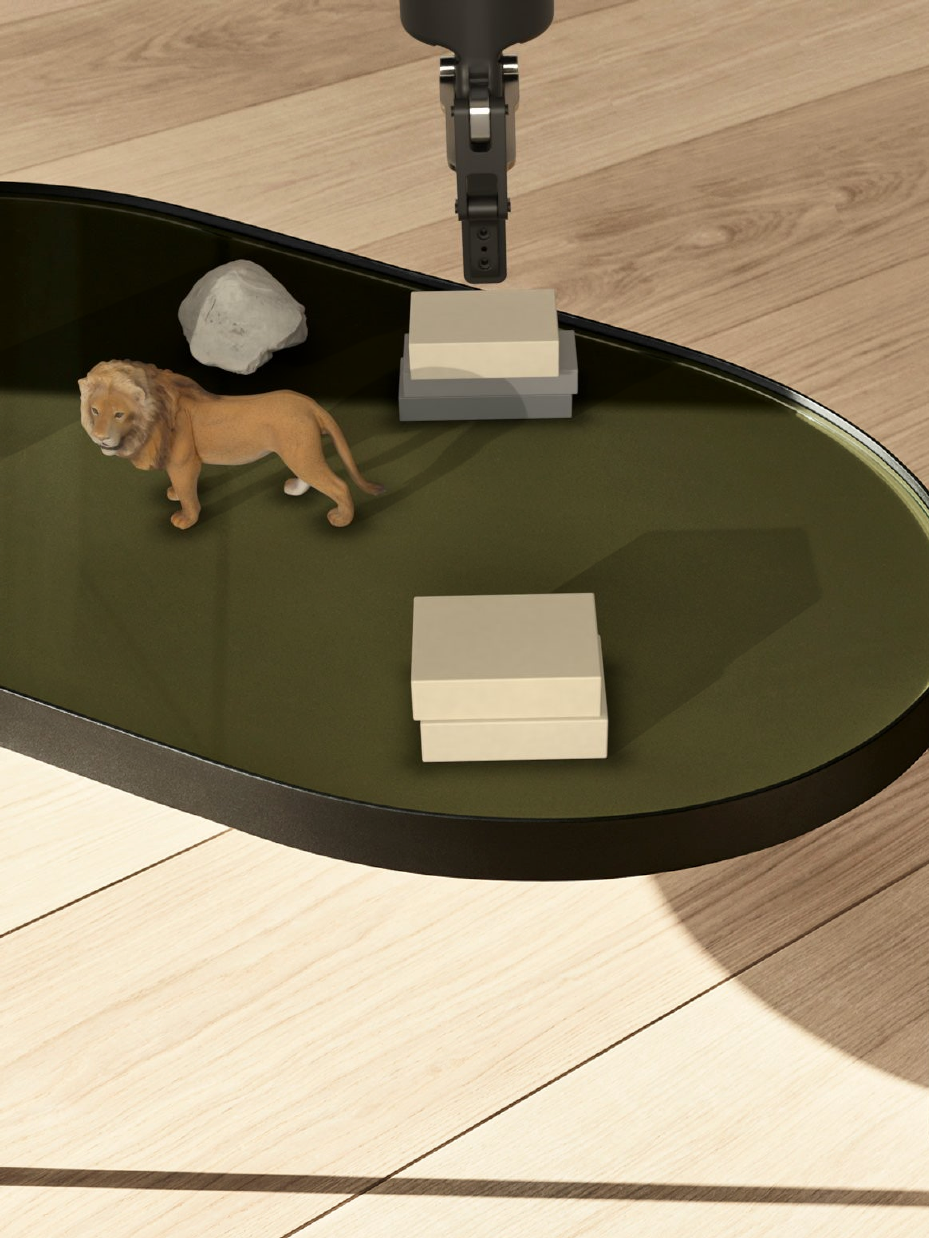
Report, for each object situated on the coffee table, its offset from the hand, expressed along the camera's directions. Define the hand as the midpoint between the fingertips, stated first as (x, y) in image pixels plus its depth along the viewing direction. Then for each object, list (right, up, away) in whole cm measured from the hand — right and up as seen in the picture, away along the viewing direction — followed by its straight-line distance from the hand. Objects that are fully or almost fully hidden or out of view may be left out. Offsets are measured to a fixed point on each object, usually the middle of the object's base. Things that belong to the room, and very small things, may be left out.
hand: (484, 242), depth 97 cm
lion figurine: (-13, -15, -3) cm, 20 cm away
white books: (+1, -25, -15) cm, 29 cm away
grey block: (0, -7, +6) cm, 9 cm away
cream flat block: (0, -5, +4) cm, 6 cm away
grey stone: (-14, -4, +11) cm, 18 cm away
